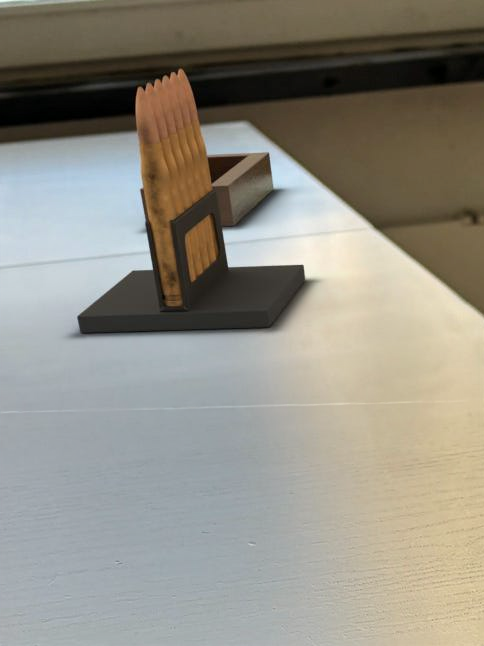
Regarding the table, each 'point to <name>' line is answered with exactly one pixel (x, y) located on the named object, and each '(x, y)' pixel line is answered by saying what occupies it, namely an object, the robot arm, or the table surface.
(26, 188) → the table surface
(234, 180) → the bullet clip holder
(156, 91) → the stripper clip of bullets
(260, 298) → the rubber mat
